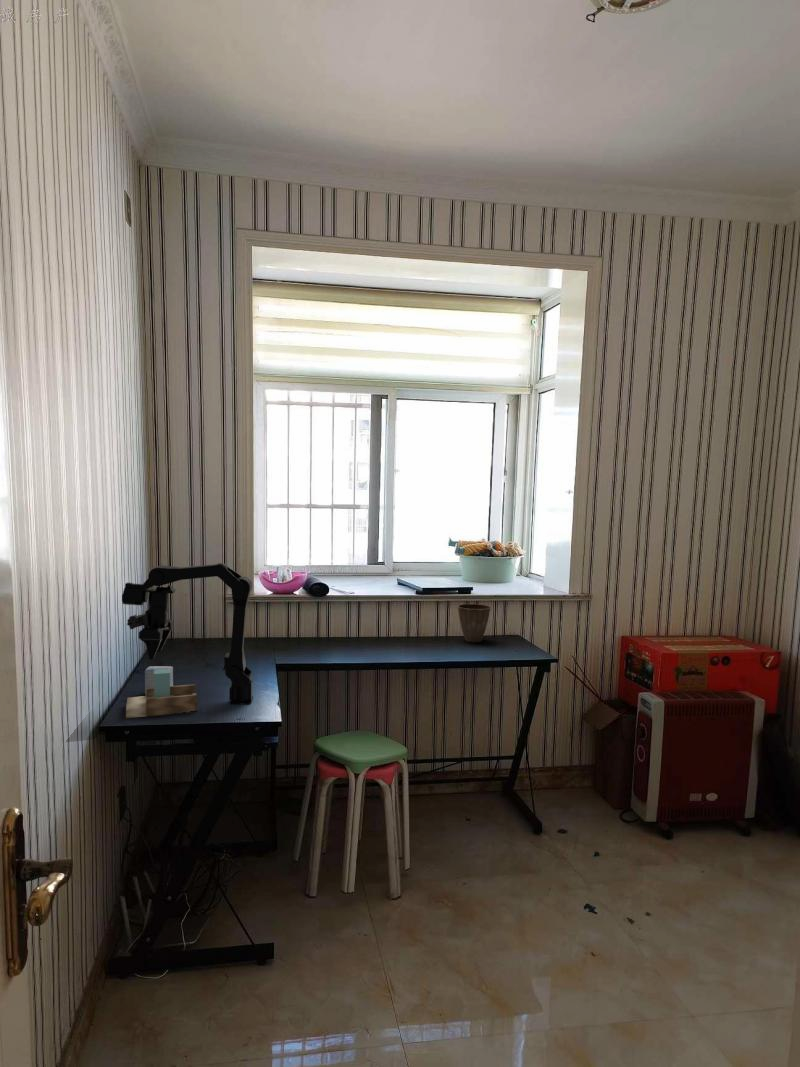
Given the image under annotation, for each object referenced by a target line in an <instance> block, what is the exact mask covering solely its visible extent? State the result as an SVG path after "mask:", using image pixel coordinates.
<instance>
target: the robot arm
mask: <svg viewBox="0 0 800 1067" xmlns="http://www.w3.org/2000/svg"><path fill="white" fill-rule="evenodd" d="M212 577H217V578H219V579H220V580H221V581H222V582H223V583H224V584H225V585H226V586H227V587H228V588H230V589H231V598H232V603H233V618H232V619H233V620H232V629H231V630H232V631H231V642H230V651H229V652H226V653H225V655H224V657H223V661H224V666H223V668H222V670H223V671H224V674H225V676H226V677H227V678H228V679H229V680H230V682H231V685H230V687H229V694H228V695H229V701H230V702H229V704H230V705H245V704H246V705H249V704H250V705H251V704H252V703H253V700H254V695H253V682H254V681H253V680H252V679H251V678H252V677H253V671H252V670H251V669H250V668H249V667H247V663H246V655H245V650H244V644H245V631H246V622H247V621H246V618H247V606H248V602H249V600H250V596H251V592H252V588H253V581H252V580H251V579H250V578H249V577H247V576H242V575H240V574H239V573H238V572H237V571H235V570H234V569H232V568H230V567H229V566H228V565H227V564H226V563H224V562H219V563H215V564H214V563H213V564H204V565H203V564H202V565H193V566H183V567H181V566H180V567H179V566H171V565H158V566H156V567H153V568H151V570H150V571H149V573H148V578H147V579H146V580H145V581H144V582H143V583H133V582H125V585H124V589H123V591H122V595H121V602H122V603H121V604H122V605H125V606H143V605H144V604H145V603H147V602H148V606H147V609H146V610H145V612H144V613H142V614H138V615H137V614H134V615H130V616H129V618H128V619H127V623H126V625H127V626H129V627H128V628H129V629H130V630H133V629H136V628H138V627H139V628H140V627H142V626H143V628H141V629H140V631H139V632H138V639H139V640H140V641H141V642H143V643H144V644H145V646H146V651H147V656H148V659H149V660H151V661H153V660H154V658H155V656H156V653H161V651H162V649H163V647H164V646H165V644H166V642H167V640H168V637H169V635H170V634H171V631H172V629H173V627H174V621H173V620H172V619H171V618H168V613H170V609H169V608H168V606H169V594H174V593H176V589H175V588H174V587H173V586H172V585H171V583H175V582H179V581H183V580H193V579H202V578H212ZM164 585H167V586H164ZM154 586H155V587H156V588H153V587H154Z"/></svg>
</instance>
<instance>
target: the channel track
mask: <svg viewBox="0 0 800 1067" xmlns="http://www.w3.org/2000/svg"><path fill="white" fill-rule="evenodd" d="M190 711H197V712H198V694H197V693H196V684H194V683H193V684H182V685H173V686H170V697H160V698H154V688H147V695H142V696H130V697H127V699H126V708H125V718H126V719H132V718H140V717H141V718H143V717H152V716H163V715H172V714H175V713H176V714H183V713H182V712H186V713H191V712H190Z"/></svg>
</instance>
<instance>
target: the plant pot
mask: <svg viewBox="0 0 800 1067" xmlns="http://www.w3.org/2000/svg"><path fill="white" fill-rule="evenodd" d="M457 610H458V616H459V617H458V618H459V622H460V623H459V624H460V627H461V631H462V634H463V637H464V640H465V642H468V643H481V642H482V640H483V638H484V636H485V632H486V629H487V626H488V623H489V617H490V614H491V613H490V612H491V606H489V605H486V604H476V603H464V604H463V603H462V604H459V605H457Z"/></svg>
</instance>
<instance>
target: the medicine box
mask: <svg viewBox="0 0 800 1067" xmlns="http://www.w3.org/2000/svg"><path fill="white" fill-rule="evenodd" d="M164 669H170V686H174V667H173V666H170V665H169V666H165V665H163V666H162V665H161V666H159V665H158V666H155V665H154V666H153V665H152V666H151V665H150V666H148V667H147V668H145V670H144V694H145V695H144V696H147V688H154V670H164Z"/></svg>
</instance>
